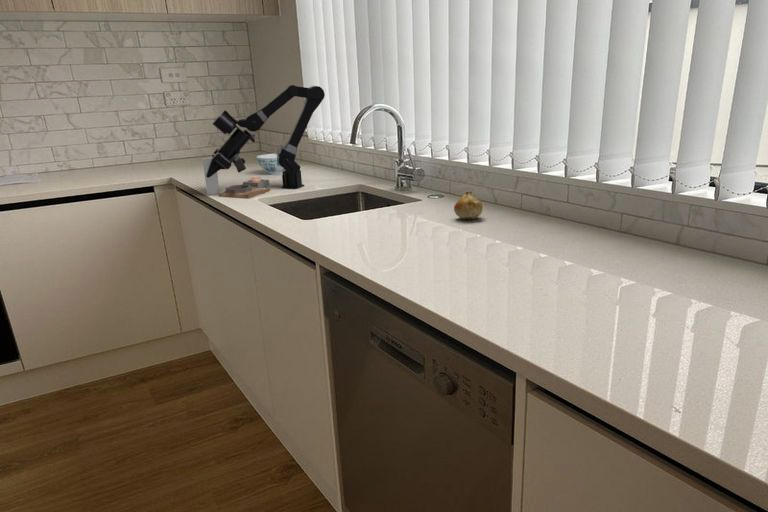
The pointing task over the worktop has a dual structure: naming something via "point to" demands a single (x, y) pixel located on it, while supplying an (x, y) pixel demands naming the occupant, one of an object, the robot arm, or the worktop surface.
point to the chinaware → (270, 164)
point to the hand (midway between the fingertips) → (207, 176)
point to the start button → (255, 179)
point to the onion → (468, 206)
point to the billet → (211, 178)
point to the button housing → (257, 183)
